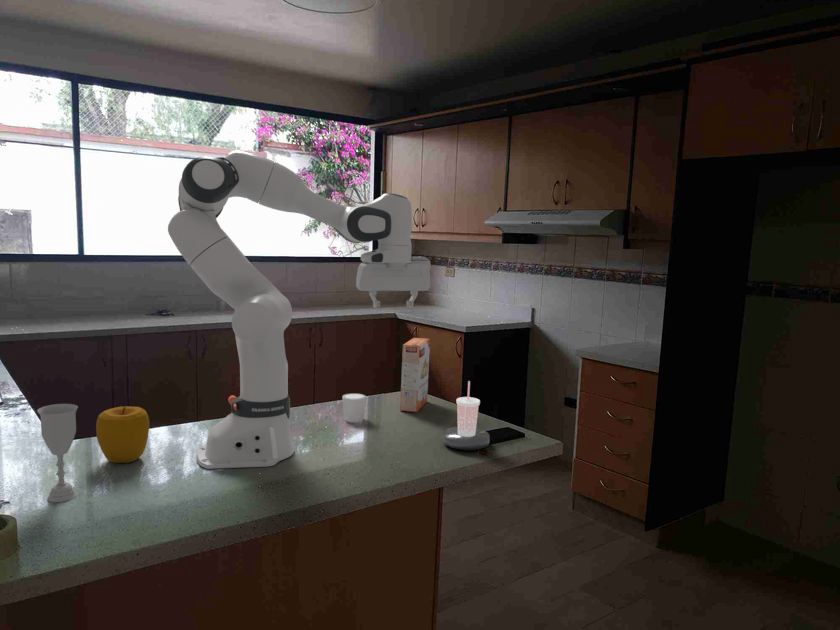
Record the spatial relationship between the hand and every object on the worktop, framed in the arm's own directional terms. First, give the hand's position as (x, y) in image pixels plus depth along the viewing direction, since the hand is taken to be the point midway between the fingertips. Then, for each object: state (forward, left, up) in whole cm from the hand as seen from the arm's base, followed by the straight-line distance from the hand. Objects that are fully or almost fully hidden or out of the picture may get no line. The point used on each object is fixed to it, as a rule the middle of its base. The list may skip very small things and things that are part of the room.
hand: (393, 307), depth 164 cm
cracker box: (+15, +20, -34) cm, 42 cm away
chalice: (-76, -21, -34) cm, 86 cm away
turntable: (+15, -17, -34) cm, 41 cm away
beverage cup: (+15, -17, -31) cm, 39 cm away
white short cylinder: (-7, +12, -34) cm, 37 cm away
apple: (-66, -4, -34) cm, 75 cm away
